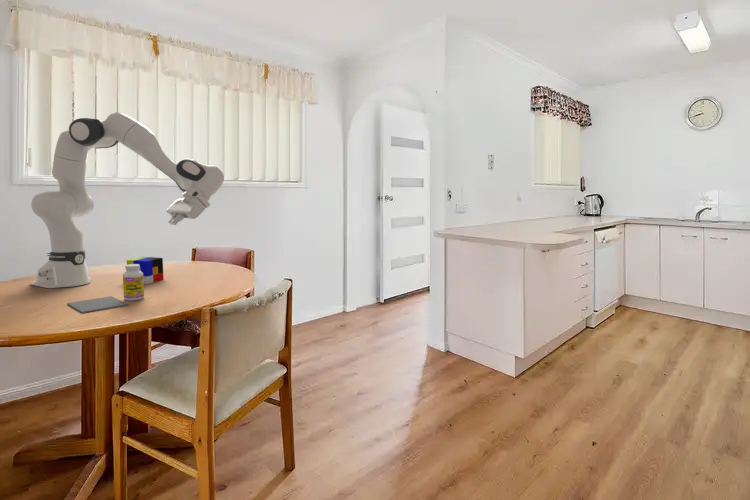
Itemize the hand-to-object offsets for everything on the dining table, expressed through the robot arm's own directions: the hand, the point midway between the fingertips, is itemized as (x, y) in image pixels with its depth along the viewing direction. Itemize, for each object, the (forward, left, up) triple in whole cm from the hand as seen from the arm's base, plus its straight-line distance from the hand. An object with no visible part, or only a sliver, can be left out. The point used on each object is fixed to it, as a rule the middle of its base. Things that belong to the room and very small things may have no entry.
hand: (171, 223), depth 170 cm
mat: (-11, -25, -27) cm, 39 cm away
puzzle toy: (-26, +13, -28) cm, 40 cm away
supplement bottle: (-6, -14, -28) cm, 32 cm away
